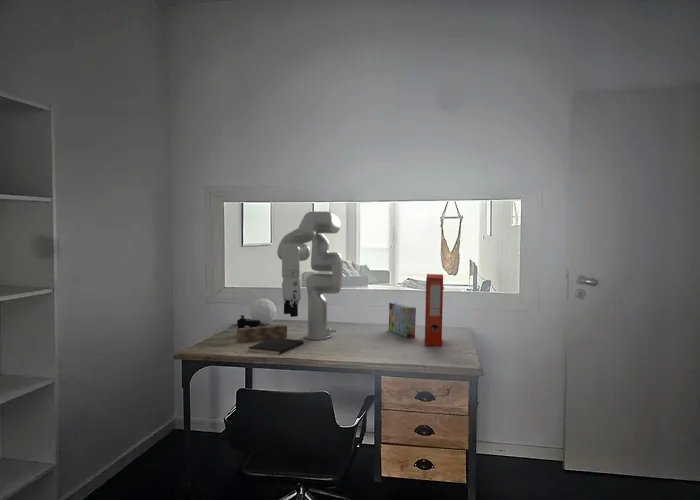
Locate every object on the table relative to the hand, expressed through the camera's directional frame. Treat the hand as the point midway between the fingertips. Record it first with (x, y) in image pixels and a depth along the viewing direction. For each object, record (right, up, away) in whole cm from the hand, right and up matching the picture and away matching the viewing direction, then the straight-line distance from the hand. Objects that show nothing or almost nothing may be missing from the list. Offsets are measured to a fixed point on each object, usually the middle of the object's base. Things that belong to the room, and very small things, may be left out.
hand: (290, 314), depth 251 cm
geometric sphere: (-23, -13, +74) cm, 78 cm away
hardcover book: (-8, -17, +16) cm, 25 cm away
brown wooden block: (-17, -16, +33) cm, 41 cm away
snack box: (+52, -15, +50) cm, 74 cm away
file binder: (+66, -17, +29) cm, 73 cm away
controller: (-25, -15, +42) cm, 51 cm away
